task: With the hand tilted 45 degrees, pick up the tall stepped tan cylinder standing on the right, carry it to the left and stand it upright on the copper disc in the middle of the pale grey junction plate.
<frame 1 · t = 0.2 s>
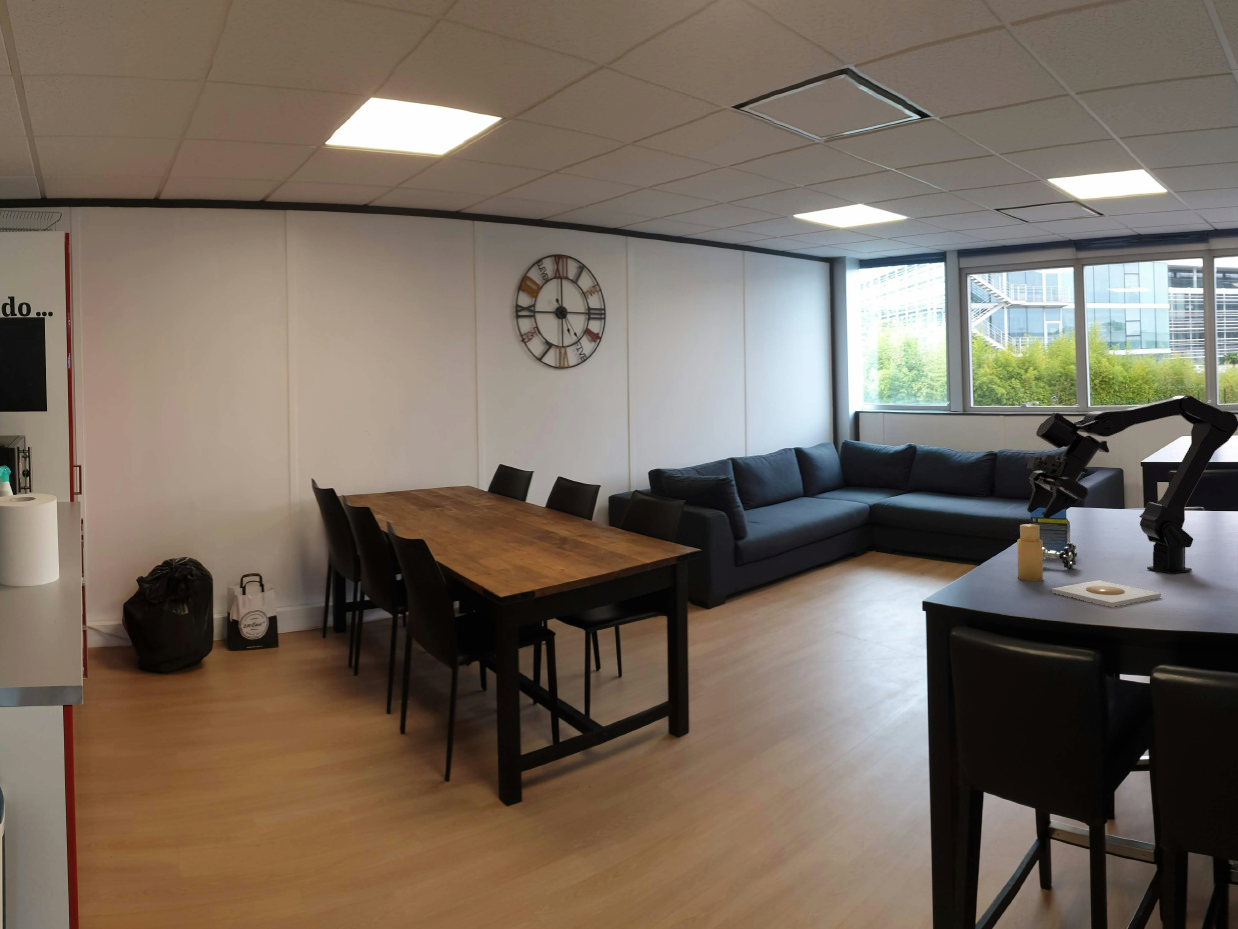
hand: (1036, 514, 190), 14 cm above the table, tool tilted 35°, fingers open, 9 cm apart
valve: (1046, 567, 198), on the table
junction plate: (1105, 595, 169), on the table
stepped tan cylinder: (1030, 578, 187), on the table
label tape cartridge: (1050, 553, 213), on the table
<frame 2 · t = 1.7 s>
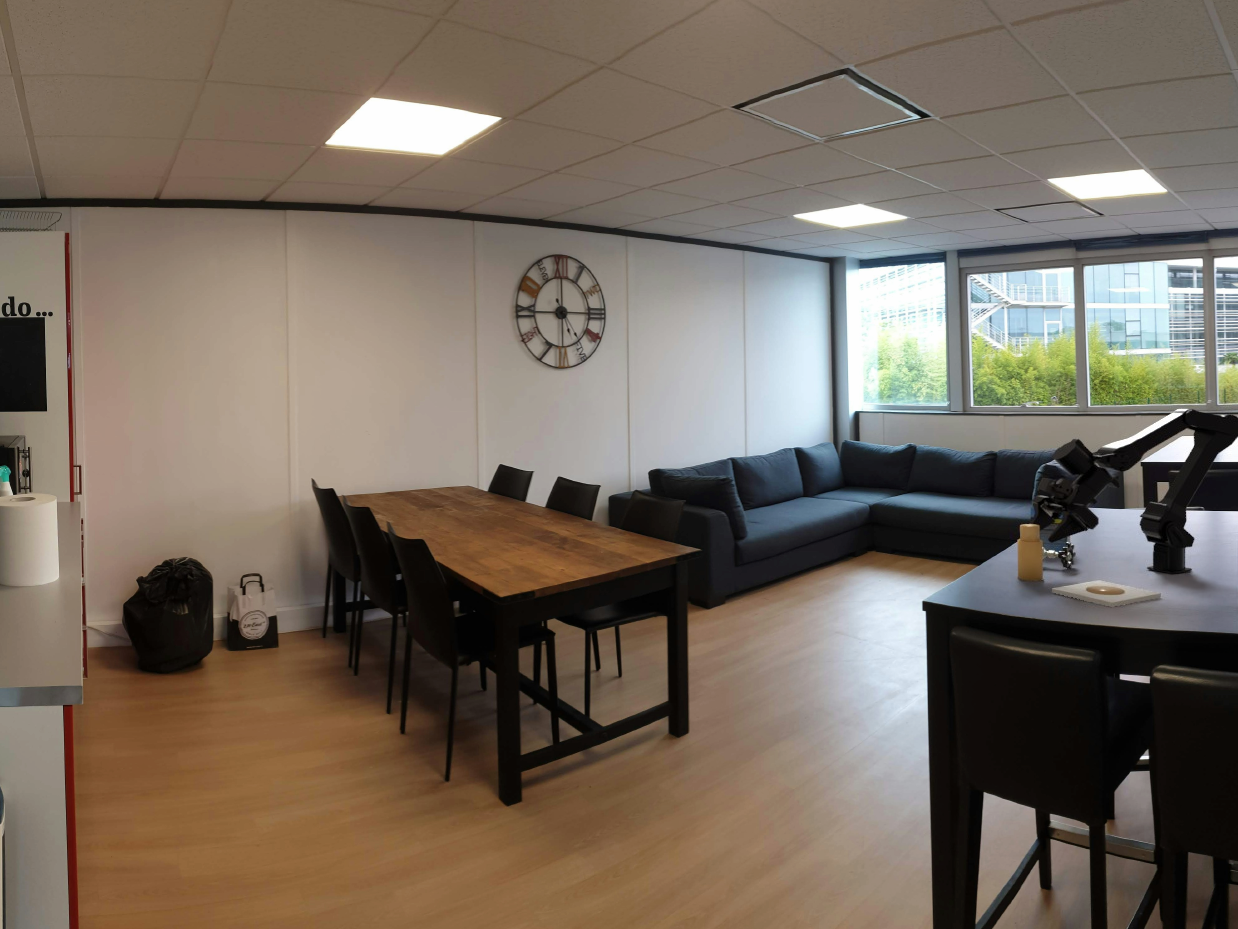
hand: (1038, 538, 186), 9 cm above the table, tool tilted 45°, fingers open, 9 cm apart
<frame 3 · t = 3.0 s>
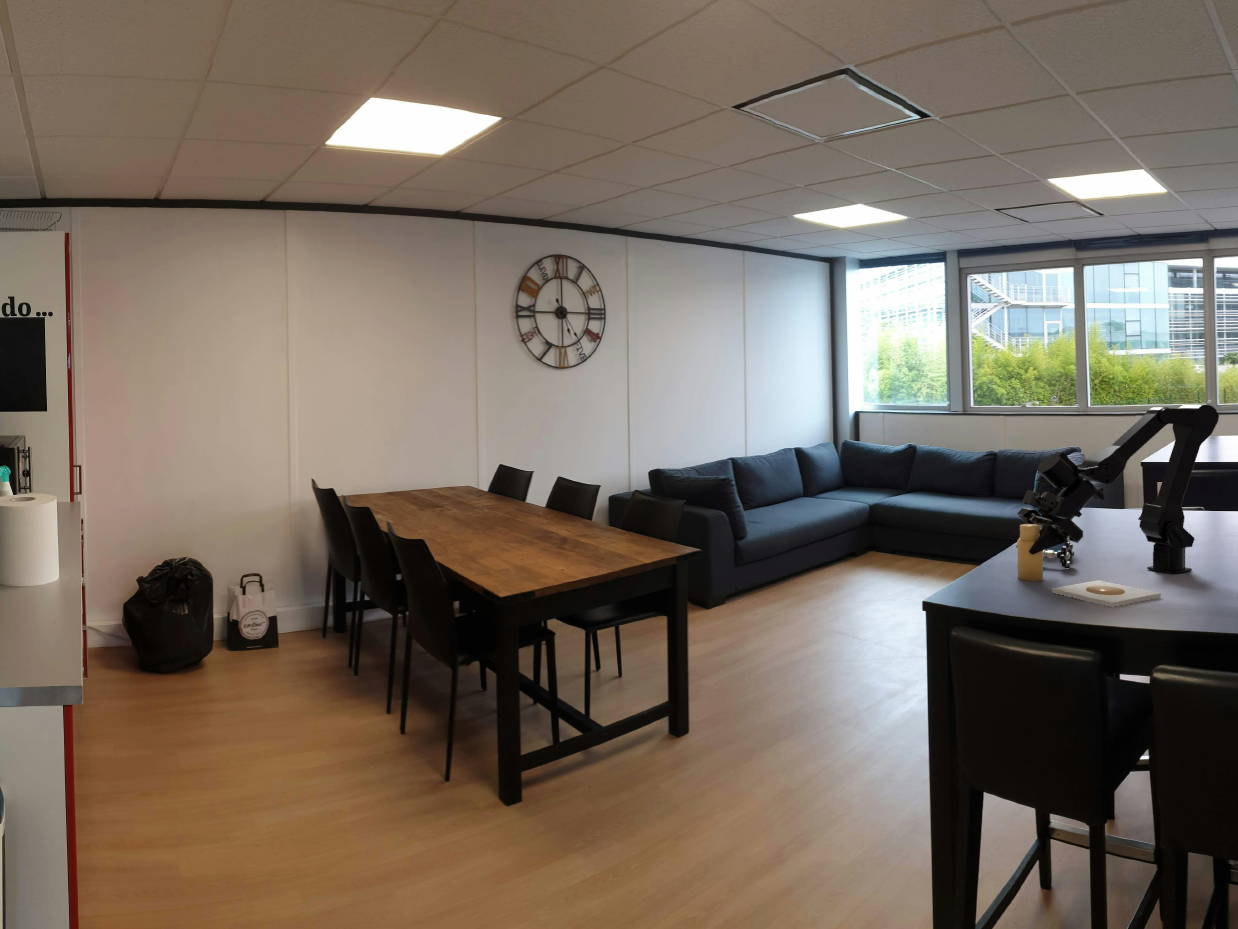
hand: (1024, 550, 186), 7 cm above the table, tool tilted 45°, fingers closed on stepped tan cylinder, 5 cm apart
stepped tan cylinder: (1030, 578, 187), on the table, touching gripper
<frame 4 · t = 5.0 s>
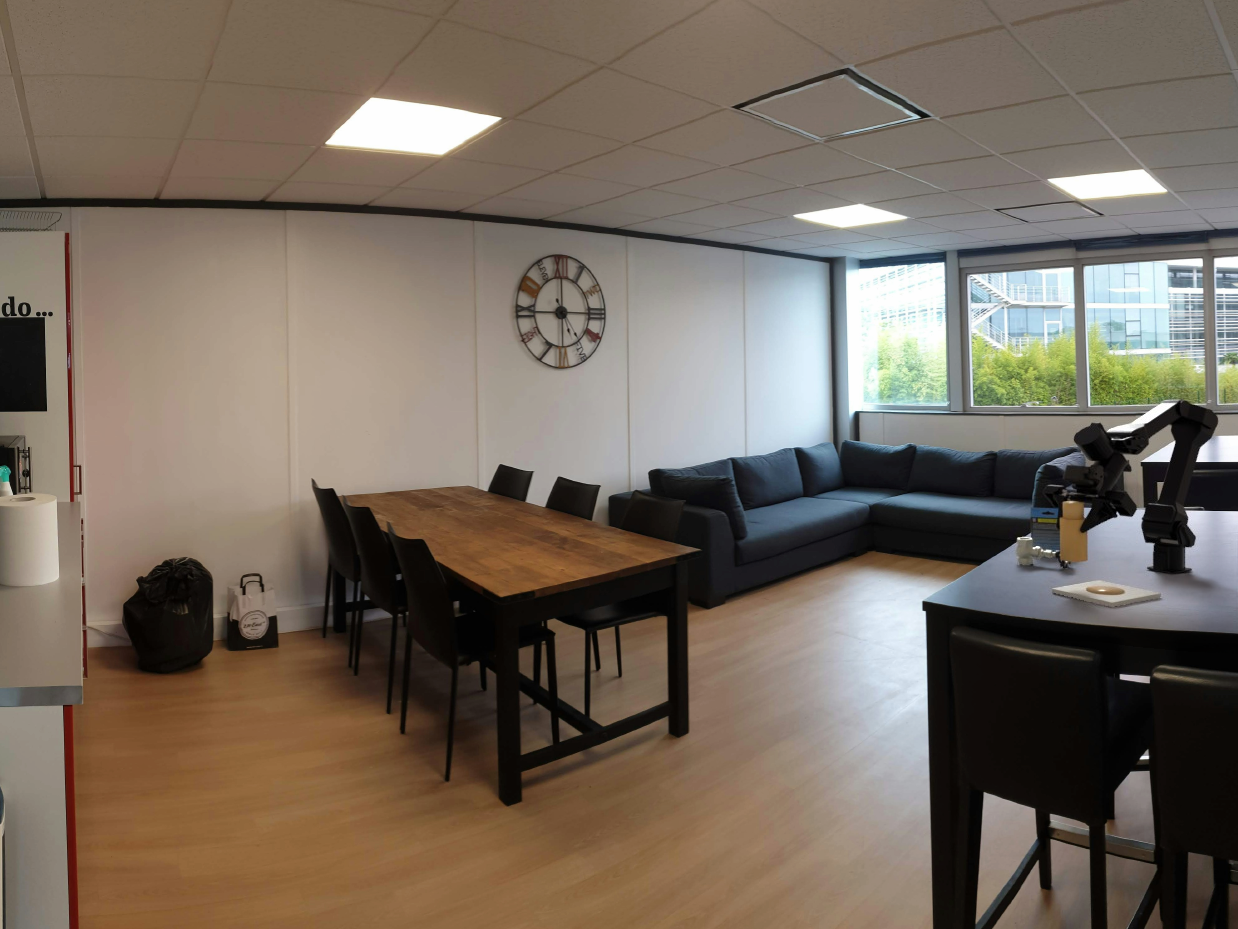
hand: (1069, 530, 173), 13 cm above the table, tool tilted 45°, fingers closed on stepped tan cylinder, 5 cm apart
stepped tan cylinder: (1073, 559, 174), point 7 cm above the table, touching gripper
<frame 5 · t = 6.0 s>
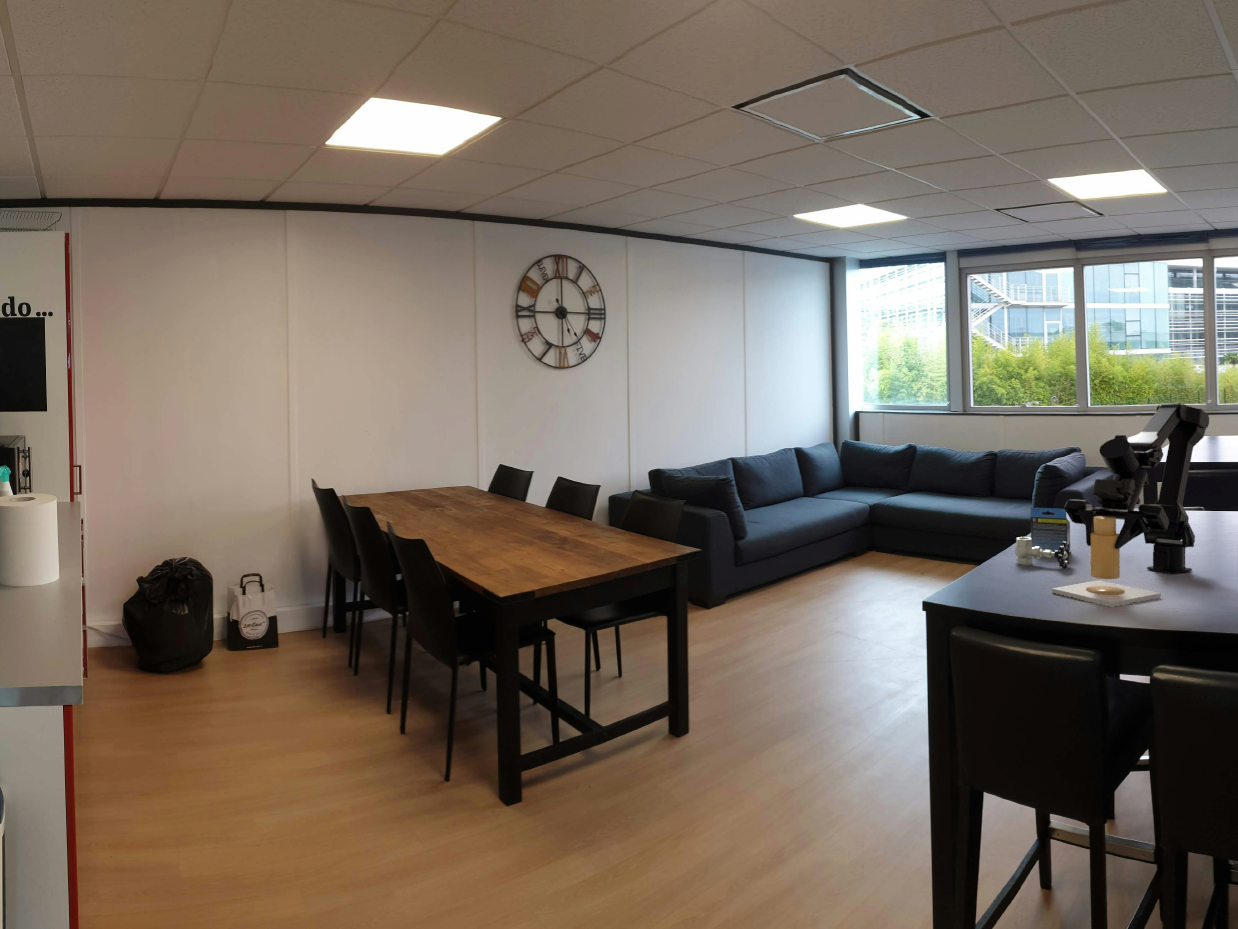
hand: (1101, 546, 168), 11 cm above the table, tool tilted 45°, fingers closed on stepped tan cylinder, 5 cm apart
stepped tan cylinder: (1105, 576, 169), point 4 cm above the table, touching gripper
when the fingers open (8 cm above the table, at t = 6.8 s): stepped tan cylinder stays where it is, resting on junction plate.
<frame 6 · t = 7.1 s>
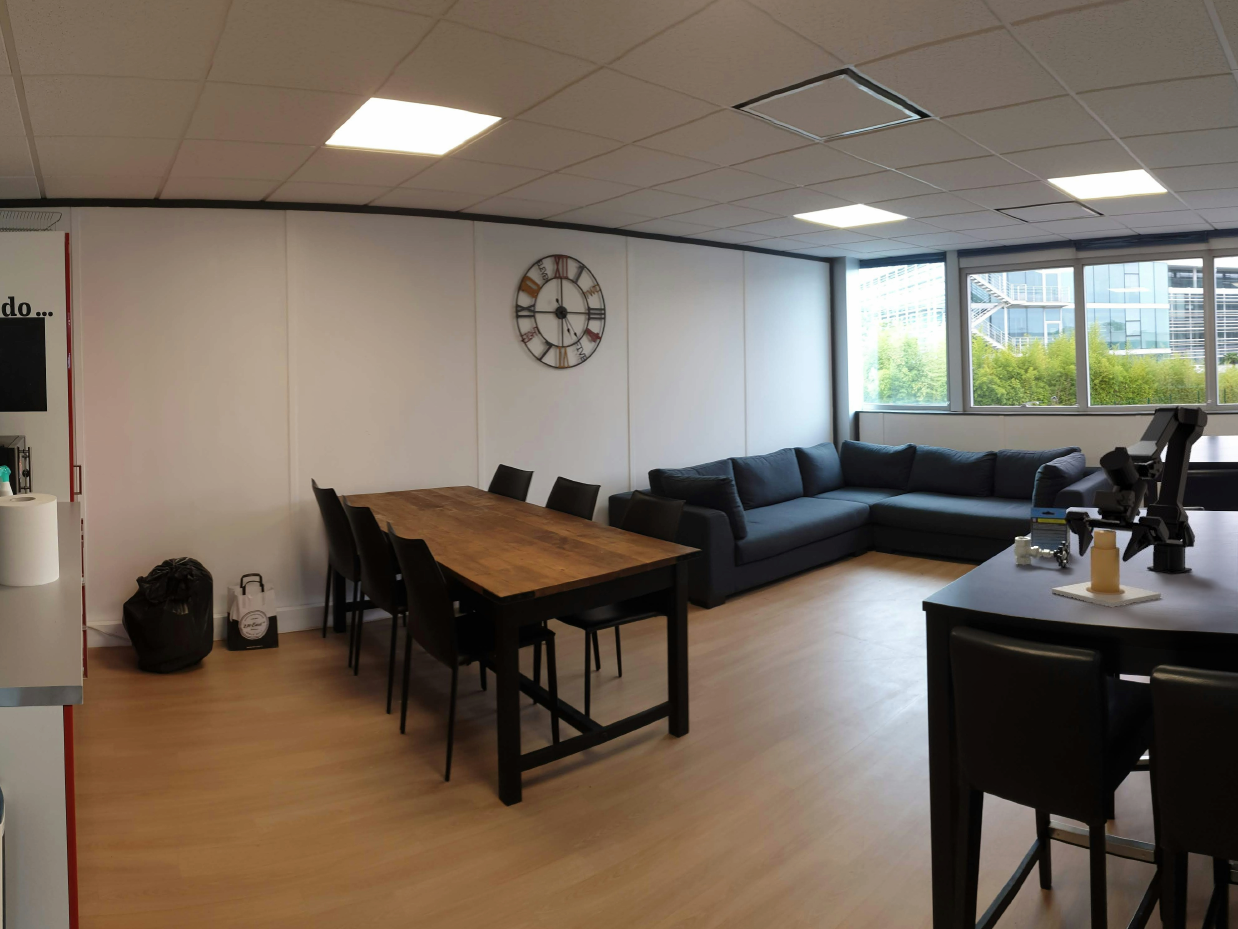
hand: (1101, 558, 168), 8 cm above the table, tool tilted 45°, fingers open, 8 cm apart
stepped tan cylinder: (1105, 589, 169), point 1 cm above the table, touching junction plate
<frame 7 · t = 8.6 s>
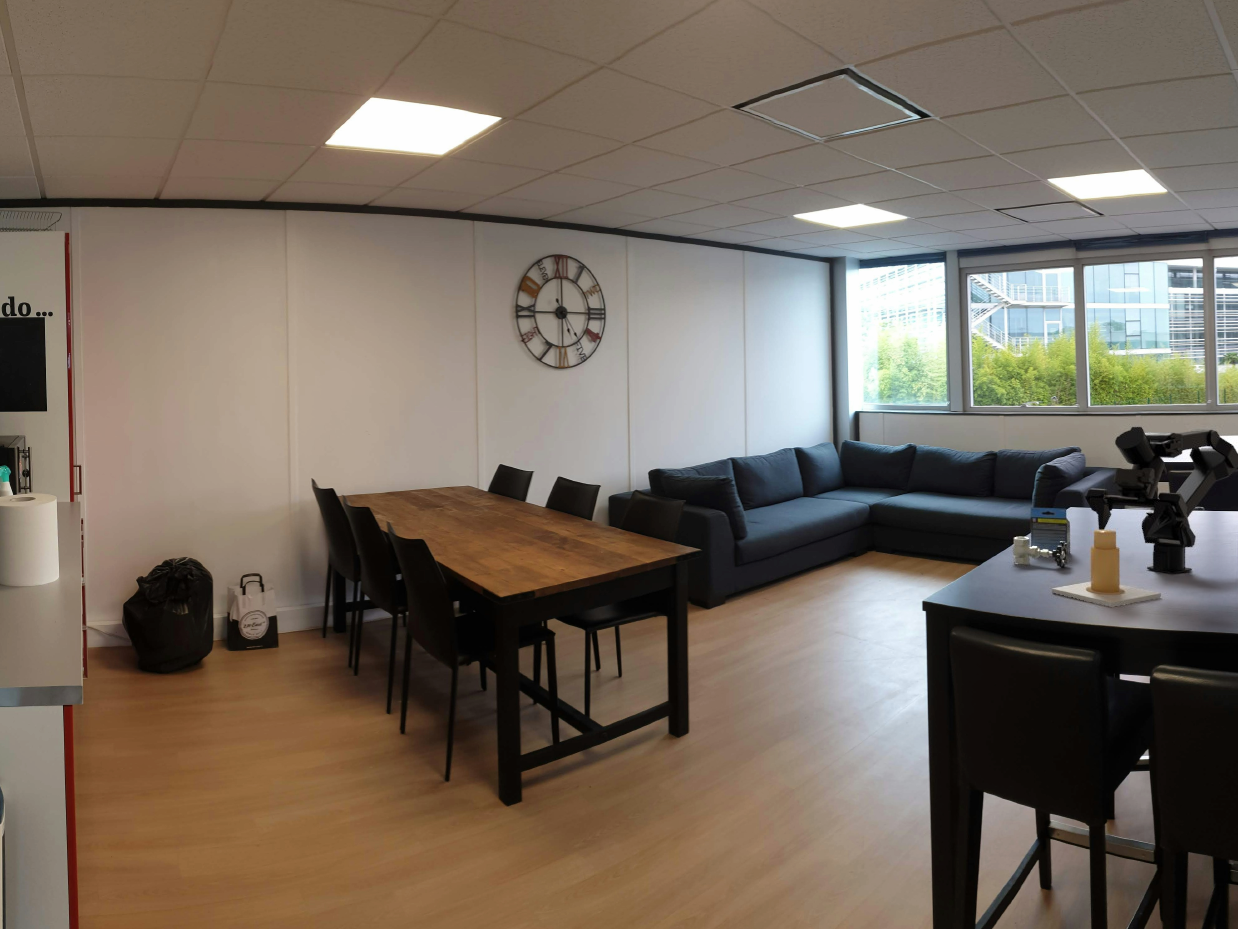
hand: (1122, 533, 175), 12 cm above the table, tool tilted 45°, fingers open, 9 cm apart
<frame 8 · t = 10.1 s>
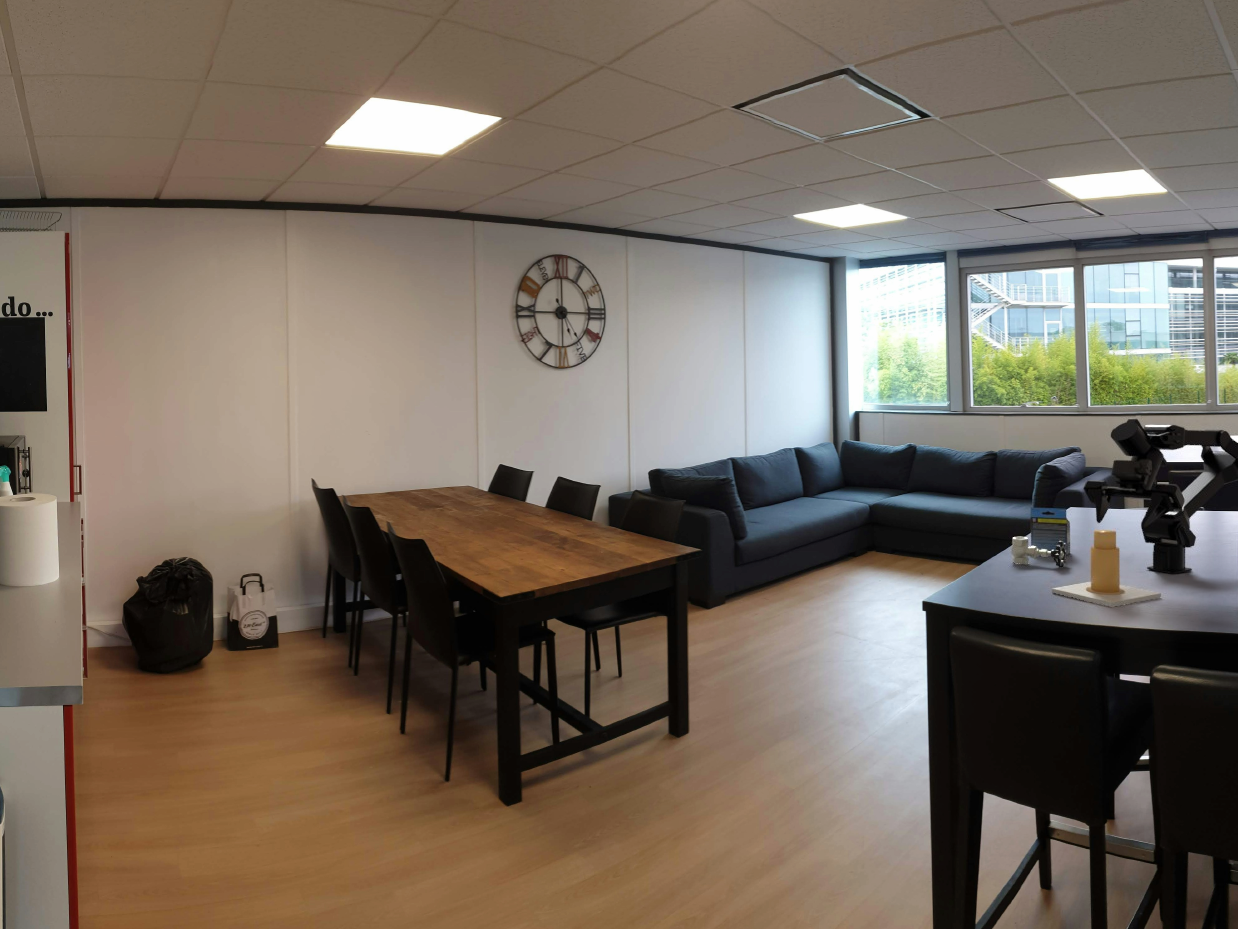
hand: (1120, 523, 176), 14 cm above the table, tool tilted 45°, fingers open, 9 cm apart
at the end: stepped tan cylinder 0.0 cm off-centre on the junction plate, point 1.2 cm above the junction plate's base; stepped tan cylinder tilted 0°; the gripper is holding nothing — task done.
